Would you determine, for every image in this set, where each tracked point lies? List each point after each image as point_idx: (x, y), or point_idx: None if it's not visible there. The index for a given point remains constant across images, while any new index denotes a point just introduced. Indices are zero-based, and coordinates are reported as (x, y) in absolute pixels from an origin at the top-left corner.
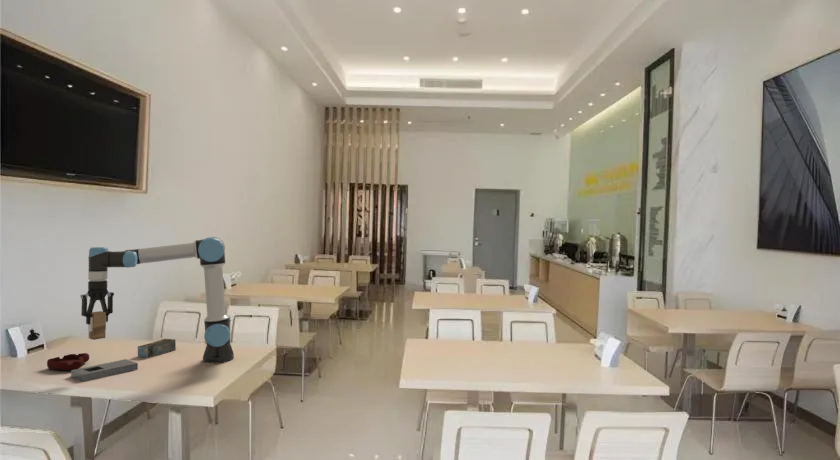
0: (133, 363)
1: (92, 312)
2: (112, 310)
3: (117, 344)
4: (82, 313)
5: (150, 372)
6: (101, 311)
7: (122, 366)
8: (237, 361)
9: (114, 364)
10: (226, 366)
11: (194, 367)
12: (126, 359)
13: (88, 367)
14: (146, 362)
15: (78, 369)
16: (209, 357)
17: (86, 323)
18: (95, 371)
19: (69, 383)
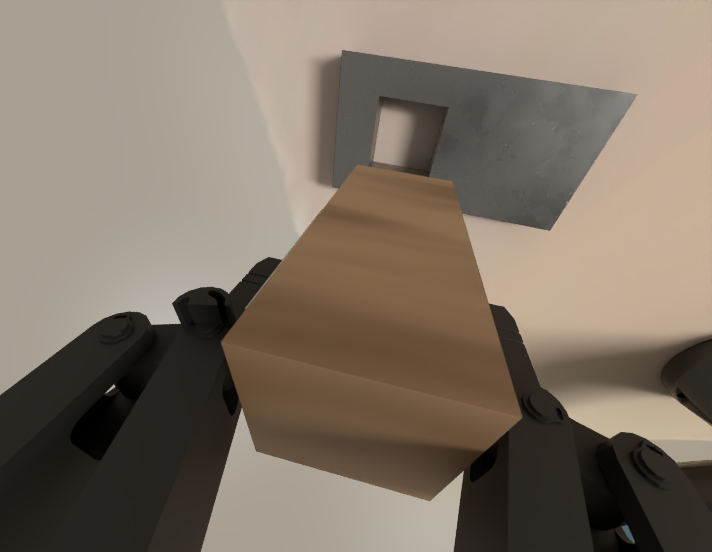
0: (539, 219)
1: (280, 389)
2: (607, 547)
3: None
4: (85, 364)
5: (506, 287)
6: (479, 444)
7: (482, 216)
8: (684, 413)
9: (503, 153)
10: (611, 409)
11: (592, 357)
12: (628, 108)
13: (414, 81)
14: (690, 150)
15: (368, 71)
16: (679, 383)
17: (261, 267)
18: None
19: (304, 158)
